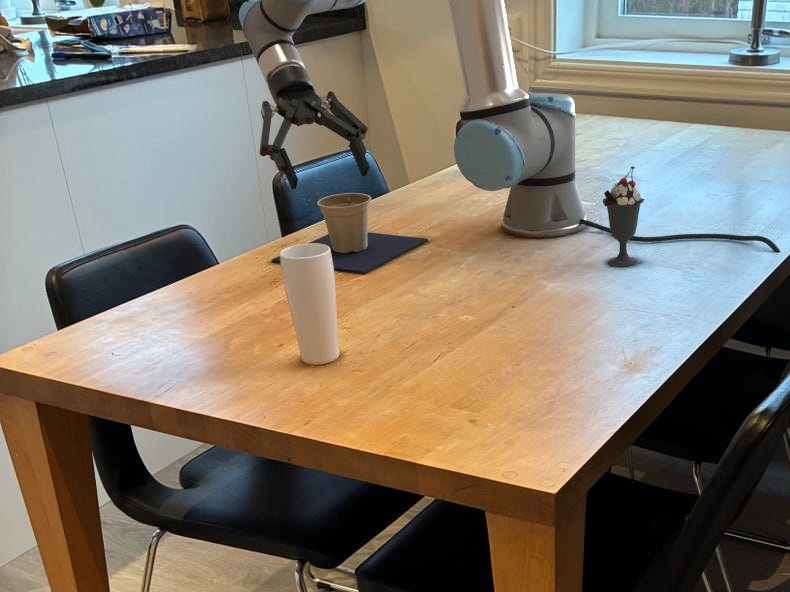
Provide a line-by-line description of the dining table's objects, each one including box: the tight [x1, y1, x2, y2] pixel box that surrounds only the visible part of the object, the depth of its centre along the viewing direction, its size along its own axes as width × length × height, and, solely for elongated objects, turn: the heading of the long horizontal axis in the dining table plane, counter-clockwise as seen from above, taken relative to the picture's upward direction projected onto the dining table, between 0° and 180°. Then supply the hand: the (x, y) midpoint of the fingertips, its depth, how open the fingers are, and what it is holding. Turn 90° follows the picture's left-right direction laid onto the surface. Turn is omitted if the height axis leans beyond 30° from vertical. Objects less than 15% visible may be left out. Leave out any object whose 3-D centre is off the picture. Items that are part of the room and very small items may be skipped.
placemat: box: [270, 232, 429, 275], centre depth 185 cm, size 20×20×1 cm
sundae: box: [602, 166, 645, 268], centre depth 167 cm, size 7×7×15 cm
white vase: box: [278, 242, 341, 366], centre depth 138 cm, size 7×7×15 cm
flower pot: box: [316, 192, 372, 253], centre depth 183 cm, size 9×9×9 cm
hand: (331, 178), depth 183 cm, fingers open, 13 cm apart
